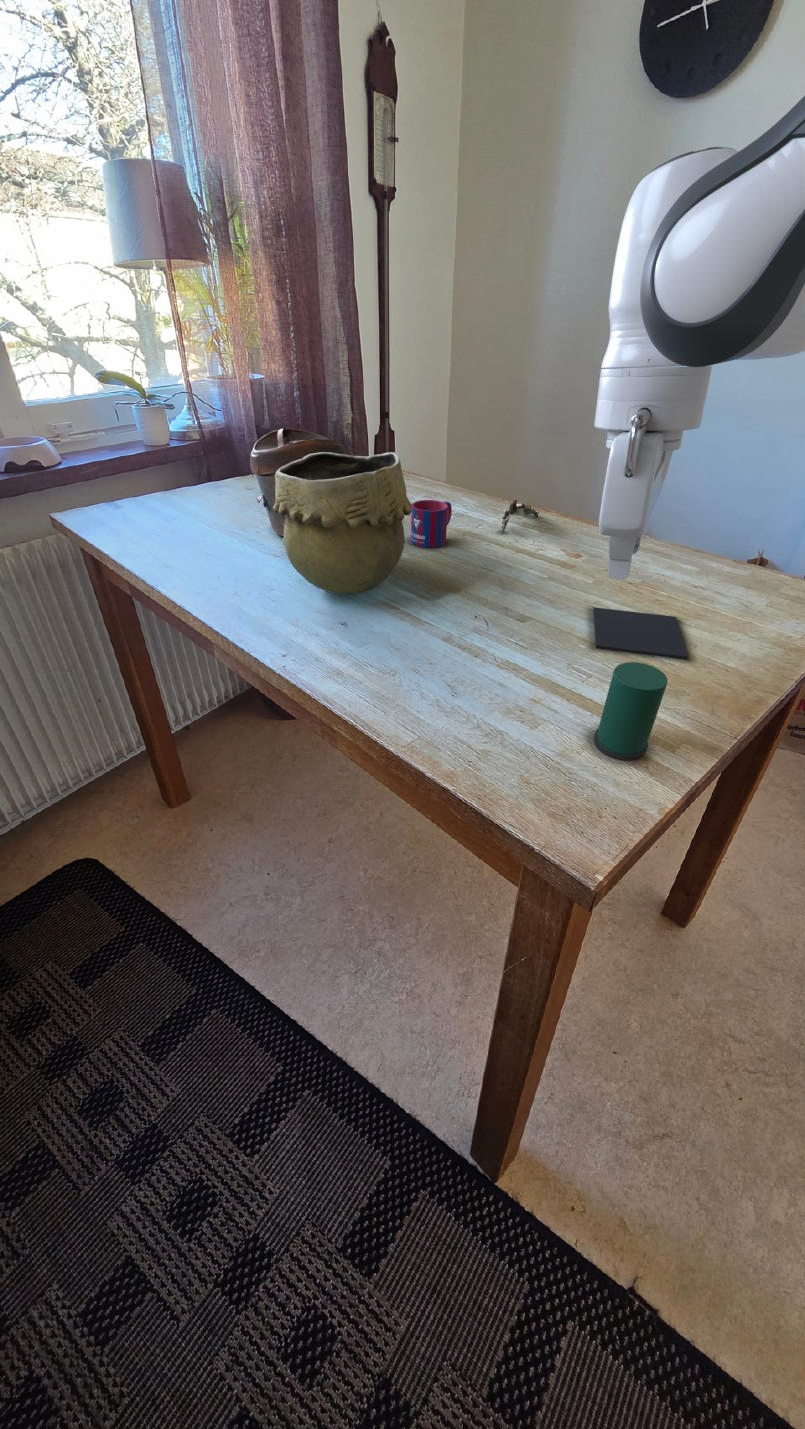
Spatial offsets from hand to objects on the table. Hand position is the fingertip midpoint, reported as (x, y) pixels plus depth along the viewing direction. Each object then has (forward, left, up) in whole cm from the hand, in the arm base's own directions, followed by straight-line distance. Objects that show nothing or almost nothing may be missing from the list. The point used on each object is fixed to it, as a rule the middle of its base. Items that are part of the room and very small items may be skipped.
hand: (623, 563), depth 59 cm
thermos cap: (-3, +5, -19) cm, 19 cm away
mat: (-7, -22, -19) cm, 30 cm away
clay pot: (+38, -26, -19) cm, 49 cm away
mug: (+28, -51, -19) cm, 61 cm away
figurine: (+13, -64, -19) cm, 68 cm away
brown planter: (+54, -50, -19) cm, 76 cm away
